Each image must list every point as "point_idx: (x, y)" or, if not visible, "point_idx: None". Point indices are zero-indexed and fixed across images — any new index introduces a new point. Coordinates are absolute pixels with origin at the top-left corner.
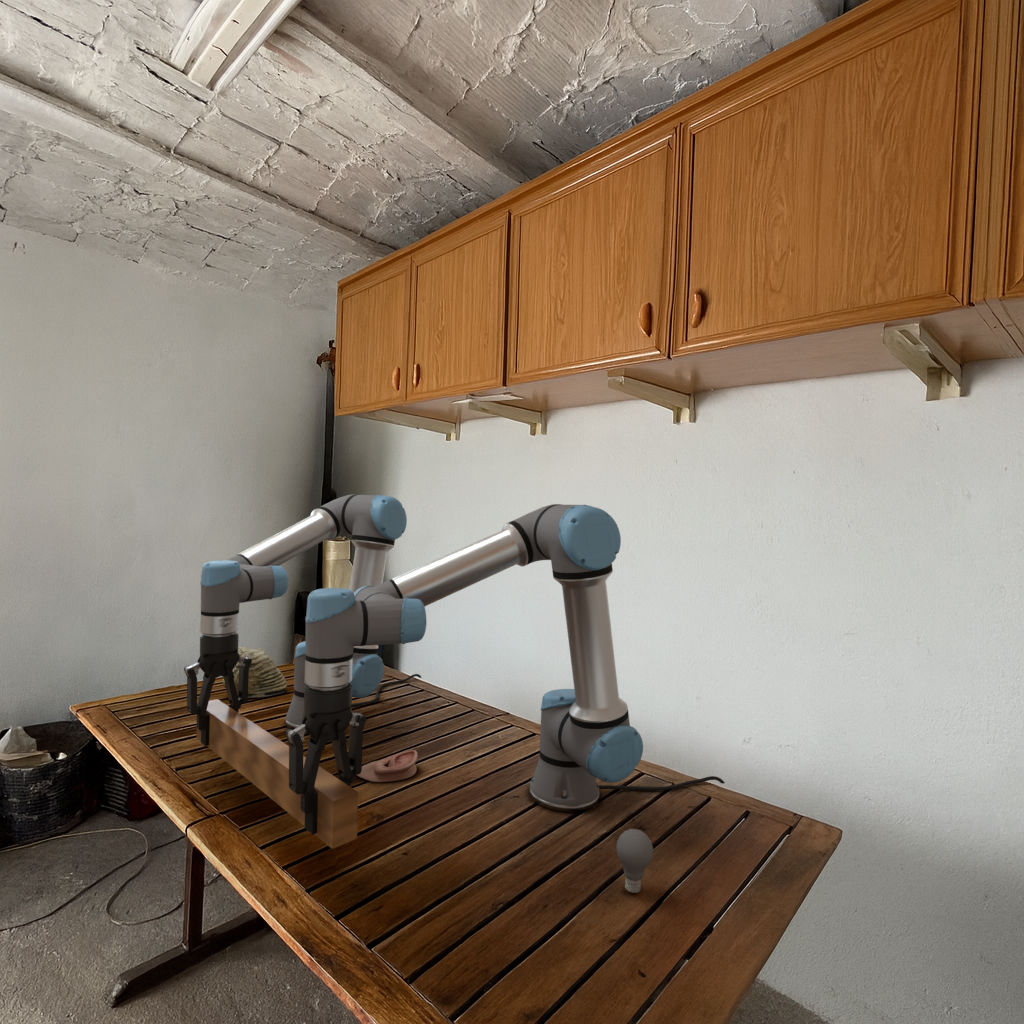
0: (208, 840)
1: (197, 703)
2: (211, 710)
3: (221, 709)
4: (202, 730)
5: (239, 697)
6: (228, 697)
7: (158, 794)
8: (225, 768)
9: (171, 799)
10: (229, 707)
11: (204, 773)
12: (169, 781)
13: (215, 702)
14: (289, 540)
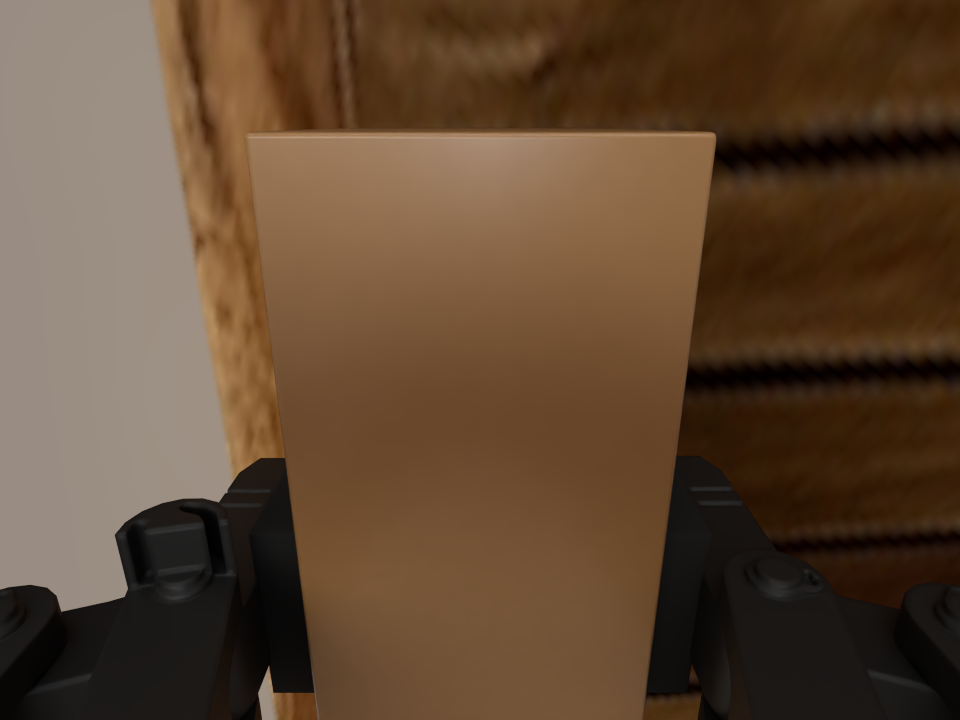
0: (295, 710)
1: (252, 152)
2: (365, 668)
3: (504, 707)
4: None
5: (929, 705)
6: (742, 695)
7: (189, 208)
8: (619, 88)
9: (240, 314)
10: (634, 703)
11: (486, 78)
12: (274, 57)
13: (578, 332)
14: None
